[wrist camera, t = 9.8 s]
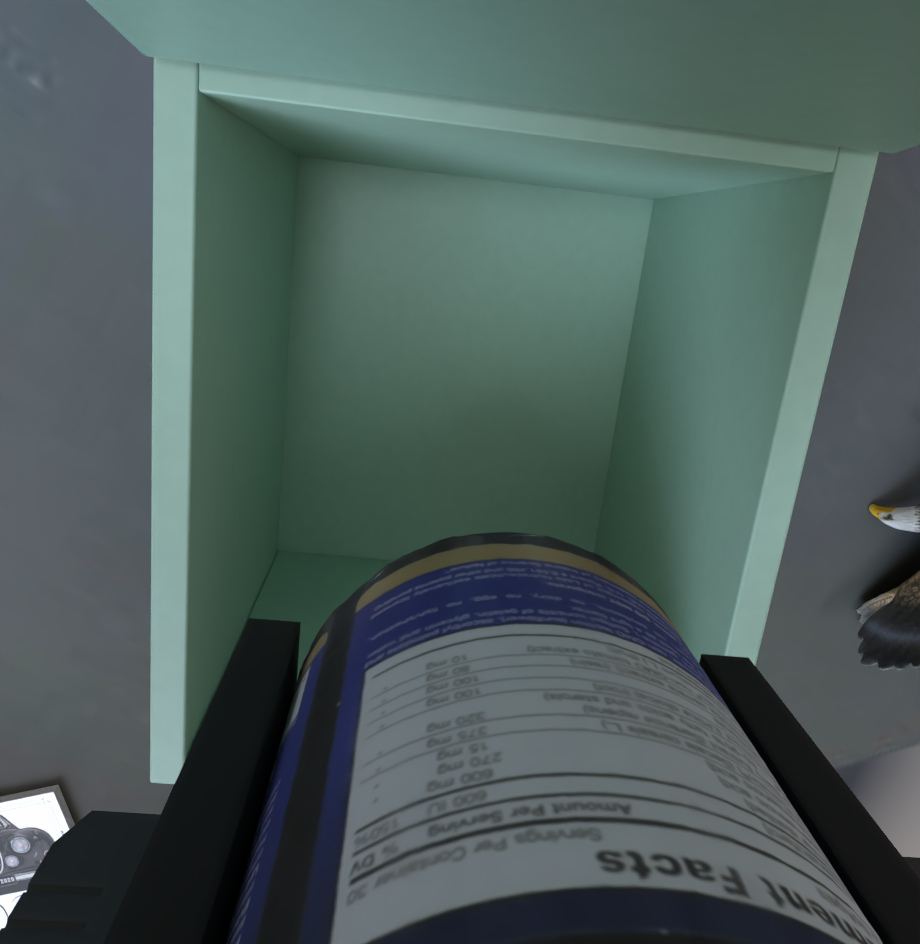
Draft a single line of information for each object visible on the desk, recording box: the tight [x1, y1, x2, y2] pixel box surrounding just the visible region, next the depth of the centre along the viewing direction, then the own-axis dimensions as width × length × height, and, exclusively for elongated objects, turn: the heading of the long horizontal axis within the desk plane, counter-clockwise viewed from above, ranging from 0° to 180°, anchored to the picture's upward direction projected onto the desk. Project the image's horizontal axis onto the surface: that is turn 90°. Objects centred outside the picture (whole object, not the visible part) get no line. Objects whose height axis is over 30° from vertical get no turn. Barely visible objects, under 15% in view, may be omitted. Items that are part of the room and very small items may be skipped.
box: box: [150, 57, 879, 784], centre depth 23 cm, size 16×14×13 cm
